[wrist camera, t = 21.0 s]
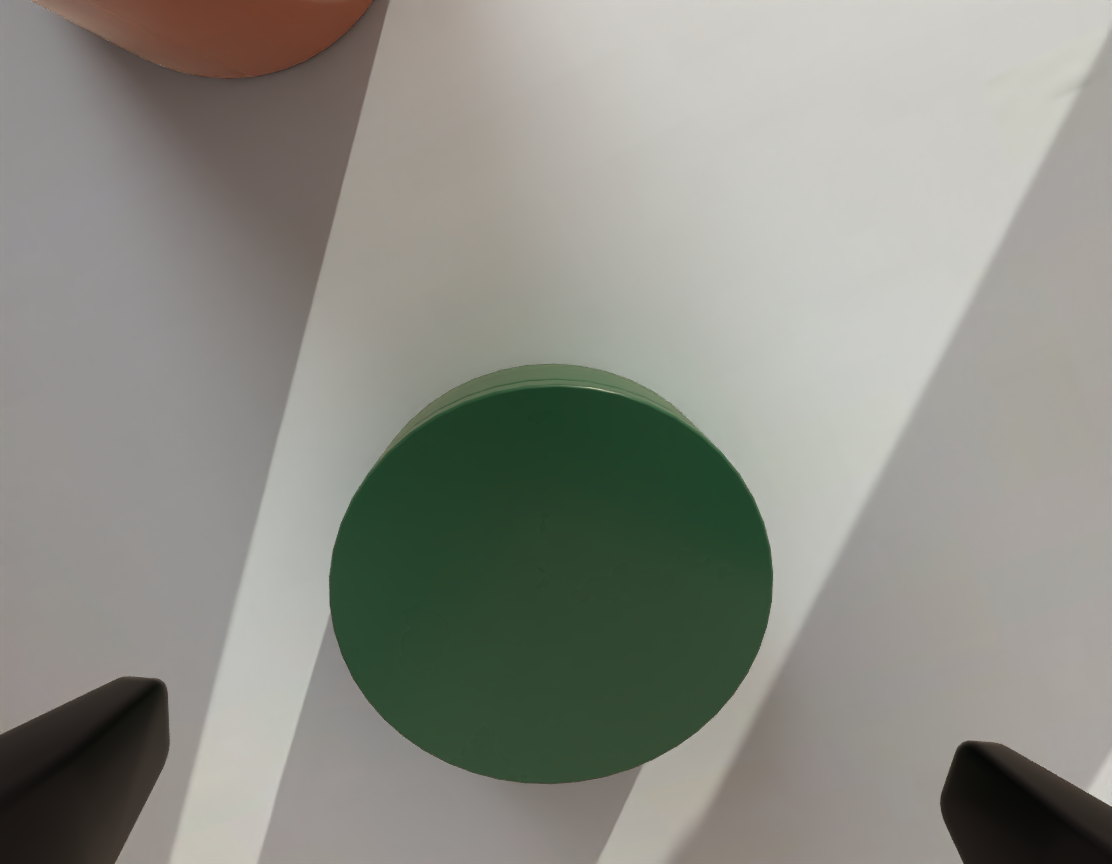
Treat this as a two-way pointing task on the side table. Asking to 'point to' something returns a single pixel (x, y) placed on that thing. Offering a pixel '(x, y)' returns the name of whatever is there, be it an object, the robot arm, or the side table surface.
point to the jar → (216, 31)
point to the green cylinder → (550, 577)
